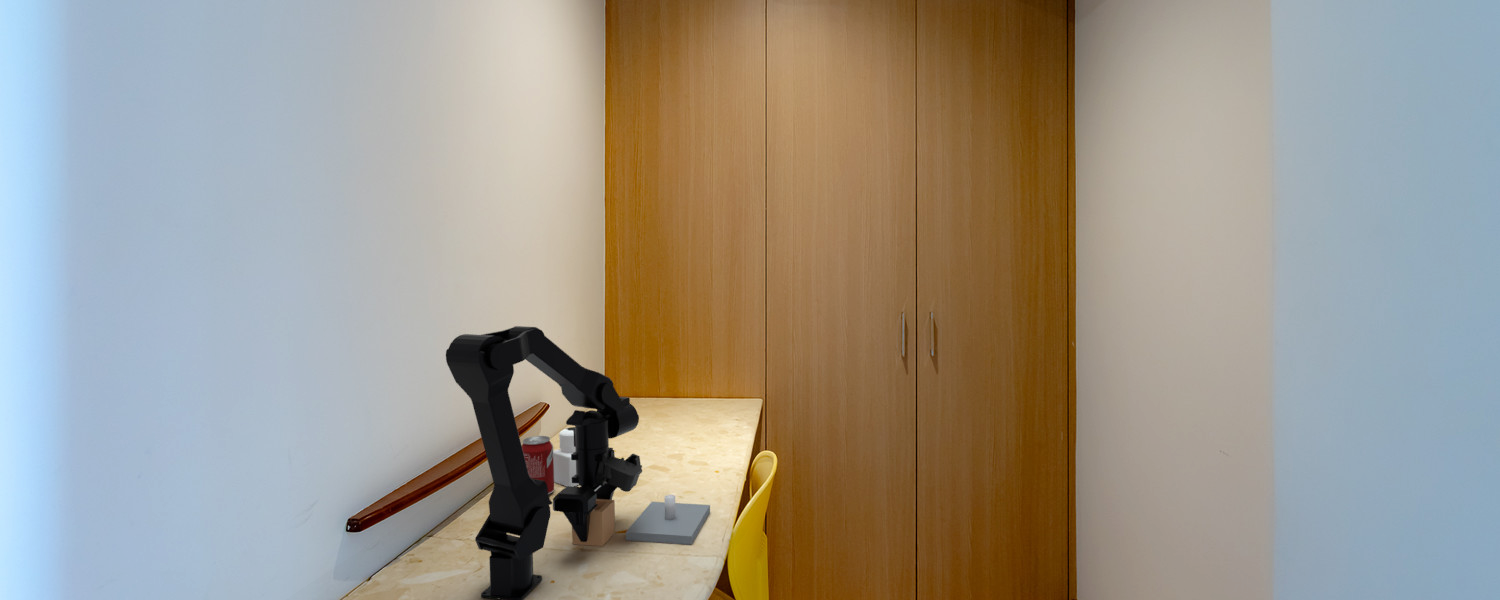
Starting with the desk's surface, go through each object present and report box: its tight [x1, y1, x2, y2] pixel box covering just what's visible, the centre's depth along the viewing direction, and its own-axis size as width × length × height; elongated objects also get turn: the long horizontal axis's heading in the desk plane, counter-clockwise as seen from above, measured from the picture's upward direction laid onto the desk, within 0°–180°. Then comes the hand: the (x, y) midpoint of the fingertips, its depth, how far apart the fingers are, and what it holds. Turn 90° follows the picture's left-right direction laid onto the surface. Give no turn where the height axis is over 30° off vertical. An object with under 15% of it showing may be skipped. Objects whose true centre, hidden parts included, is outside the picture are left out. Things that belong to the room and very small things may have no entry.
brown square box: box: [571, 499, 616, 547], centre depth 106 cm, size 6×6×6 cm
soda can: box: [521, 435, 555, 495], centre depth 127 cm, size 7×7×12 cm
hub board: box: [625, 494, 711, 546], centre depth 111 cm, size 14×12×6 cm
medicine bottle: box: [553, 426, 580, 488], centre depth 135 cm, size 7×7×12 cm
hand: (594, 531), depth 106 cm, fingers open, 8 cm apart
